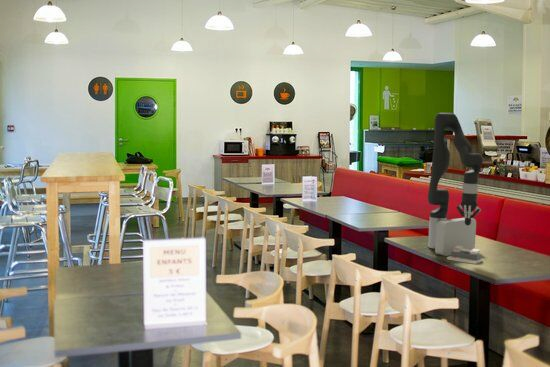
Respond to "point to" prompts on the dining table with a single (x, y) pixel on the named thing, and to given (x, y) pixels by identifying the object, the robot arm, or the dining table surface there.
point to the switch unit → (465, 257)
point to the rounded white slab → (454, 235)
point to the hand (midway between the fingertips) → (467, 225)
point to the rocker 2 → (474, 251)
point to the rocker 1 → (457, 248)
